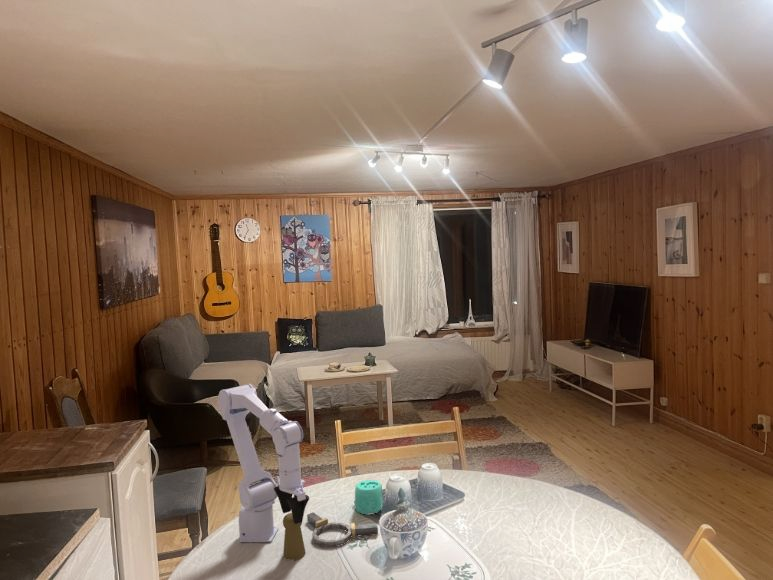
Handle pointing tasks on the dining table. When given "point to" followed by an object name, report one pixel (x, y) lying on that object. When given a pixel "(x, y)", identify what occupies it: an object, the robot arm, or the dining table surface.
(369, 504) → the teal tapered cylinder
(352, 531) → the grey handled ring
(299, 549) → the olive tapered pawn
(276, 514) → the dining table surface
